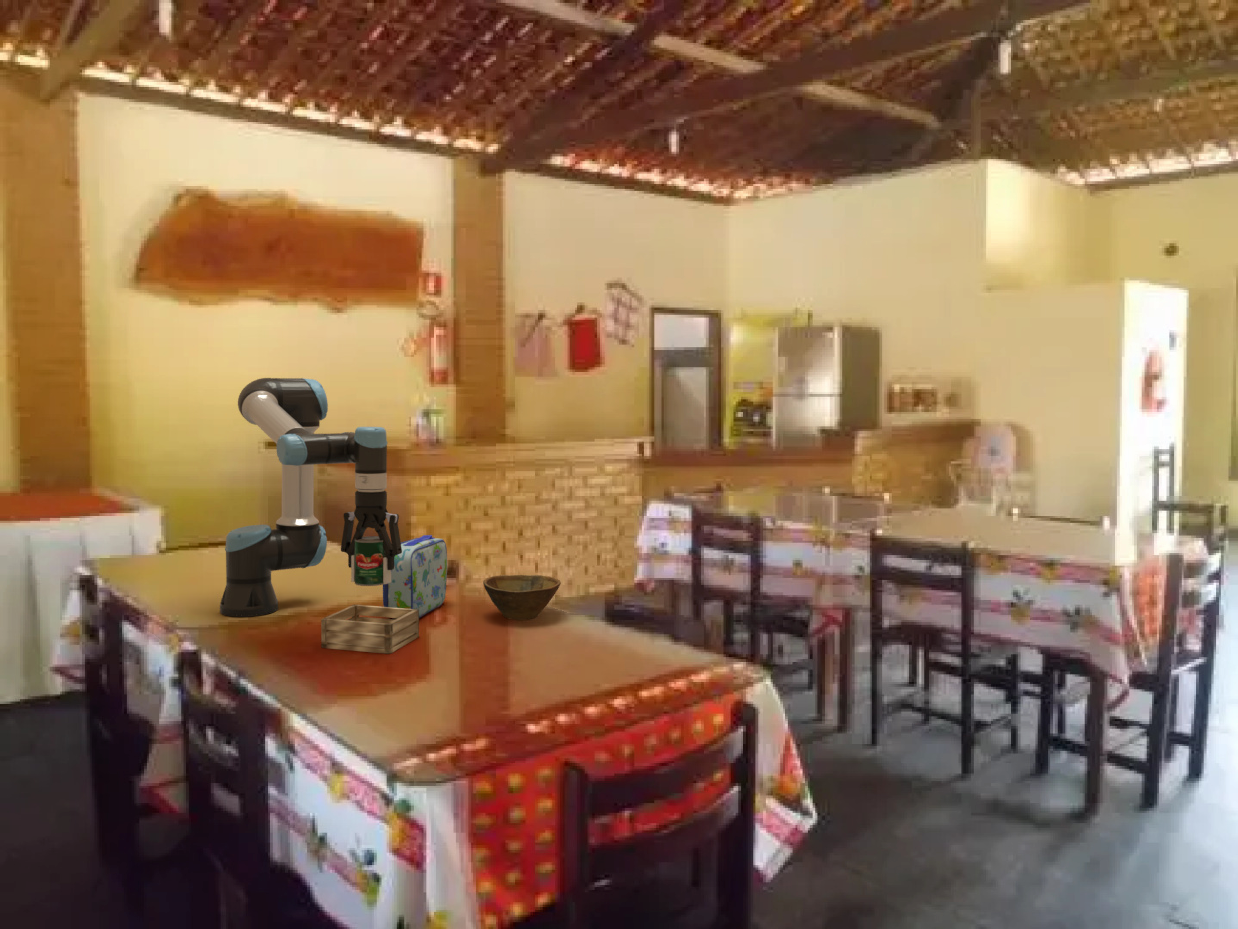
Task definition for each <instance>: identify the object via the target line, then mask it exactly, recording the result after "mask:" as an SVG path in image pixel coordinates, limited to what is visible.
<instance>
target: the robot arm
mask: <svg viewBox="0 0 1238 929" xmlns="http://www.w3.org/2000/svg"><path fill="white" fill-rule="evenodd" d="M326 393H327V392H326V390H325V388H324V386H323V385H322V384H321V383H320V381H318V380H317V379H313V378H303V377H302V378H301V377H300V378H299V377H295V378H293V377H291V378H286V377H281V378H279V377H272V378H271V377H262V378H257V379H255V380H253V381H251V382H249V383H248V384H246V385H245V386H244V387H243V388H242V390H240V393H239V395H238V398H237V407H238V411H239V414H240V415H241V416H242V418H244V419H245V421H247V422H248V423H249V424H251V425H255V426H257V427H259V429H260V430H261V431H262V432H263V433H265V434H266V435H267V437H269V439H271V440H272V441H273V442H274V443H275V444H276V456H277V457H278V461H279V463H281V516H280V517H279V518H278V519H277V520H276V521H275V528H274V529H272V528H271V525H268V524H253V525H247V526H242V527H237V528H235V529H232V530H231V531H230V532H228V533H227V535H226V539H225V547H224V550H225V570H226V572H225V576H226V578H225V579H226V581H225V583H226V584H225V587H224V591H223V593H222V597H221V600H220V603H219V613H220V614H221V615H224V616H227V617H240V618H241V617H242V618H244V617H259V616H263V615H268V614H271V613H275V612H276V611H278V610H279V600H278V597H277V595H276V591H275V589H274V586H273V583H272V572H275V571H281V570H282V571H283V570H293V569H306V568H309V567H316V566H317V565H319V564H320V563H321V562H322V561H323V559H324V557H325V555H326V551H327V546H328V544H327V543H328V537H327V536H326V534H327V532H326V530H325V527H323V526H322V525H320V521H319V519H318V518H317V517H315V514H314V498H315V496H314V491H315V490H314V482H315V481H314V480H315V478H314V477H315V473H314V472H315V471H314V470H315V469H314V468H315V466H314V465H329V464H330V465H331V464H332V465H334V464H338V465H339V464H354V484H355V485H354V486H355V489H356V491H355V492H354V502H355V503H354V504H355V509H354V511H347V512H344V513H343V519H344V525H343V531H342V538H341V544H340V551H341V553H346V554H347V558H348V559H347V563H348V568H350V569H351V570H350V572H351V578H350V579H351V581H350V582H352V583H355V539H356V540H359V539H362V537H364V534H365V531H366V530H367V528H370V529H374V531H375V532H376V533H377V535H378V536H379V538H380V541H381V540H383V549H384V551H385V554H386V556H385V557H384V558H383V584H388V583H390V582H391V570H393V569H394V557H395V555H398V554H401V553H402V548H401V535H400V530H399V517H400V515H399V514H397V513H395V514H394V513H389V512H388V508H387V505H388V493H387V490H385V489H387V487H388V481H387V480H388V478H387V476H388V475H387V474H388V473H387V472H388V470H387V469H388V467H387V466H388V465H387V463H388V462H387V460H388V458H387V457H388V440H387V431H386V428H384V427H382V426H358V427H356V428H355V430H354V431H353V432H352V431H350V432H349V431H347V432H341V433H337V432H336V433H315V432H316V431H317V430H318V429H319V428H320V425H321V424H320V421H322V420H324V419H325V418H326V417H327V414H328V411H329V410H328V409H329V408H328V407H329V404H328V403H329V402H328V398H327V394H326ZM355 519H356V520H357V521H358V522H357V525H356V527H355V529H356V530H355V532H354V535H353V529H354V524H355V523H354V522H355ZM386 520H387V523H388V529H389V533H388V531H387V525H386V524H385V521H386ZM389 535H390V536H389Z"/></svg>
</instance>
